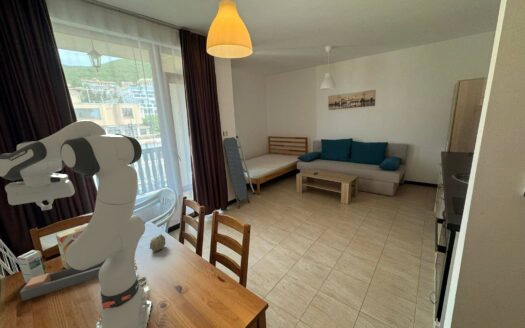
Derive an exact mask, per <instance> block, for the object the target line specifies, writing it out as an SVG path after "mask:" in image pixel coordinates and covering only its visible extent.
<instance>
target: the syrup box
mask: <svg viewBox="0 0 525 328" xmlns="http://www.w3.org/2000/svg"><path fill="white" fill-rule="evenodd" d="M17 260H18V264H19V267H20V270H21V273H22V277H23V279H24V282H25V284H26V283H27V282H28V281H29V279H31V278H33V277H36V276H40V275H43V274H47V273H48V272H47V270H46V267H45V262H44V259H43V256H42V252H41V251H40V250H37V249H36V250H35V249H32V250H30V251H28V252H26V253H23V254H21V255H19V256H17Z"/></svg>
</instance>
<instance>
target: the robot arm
mask: <svg viewBox="0 0 525 328" xmlns="http://www.w3.org/2000/svg"><path fill="white" fill-rule="evenodd" d="M142 151H143V149H142V145H141V144H140V142H139V141H138V140H137V138H135V137H133V136H130V135H129V136H128V135H125V134H120V133H115V134H108V133H106V130H105V129H104V127H103V126H102V125H101V124H100V123H98V122H96V121H94V120H89V119H81V120H78V121H75V122H73V123H70V124H69V125H66V126H64V127H63V128H61V129H59V130H58V131H57V132H55V133H53V134H51V135H48V136H47V137H44V138H42V139H39V140H37V141H33V140H32V141H24V142H20V143H19V144H17V145H16V150H15V151H12V152H6V153H1V154H0V177H1V178H3V179H5V180H8V181H12V182H8V184H6V185H5V186H4V190H5V192H6V194H7V201H8V204H9V205H11V206H16V205H23V204H24V205H25V204H30V203H35V204H36V205H37V206H38V207H40V209H41V211H43V212H44V211H47V210H52V209H53V205H52V204H53V203H54V200H57V199H61V198H68V197H72V196H74V194H75V193H76V190H75V187H74V184H73V182H72V181H71V180H70V179H69V174H66V173H64V174H63V173H58V172H60V171H62V170H63V169H64V168H65V167H66V168H68V169H70V171H73V172H74V173H77V174H81V175H83V176H84V177H85V178H92V177H94V176H96V178H97V179H98V186H97V192H96V198H95V199H96V200H95V204H94V211H93V214H92V216H91V218H90V220H89V222H88V225H87V226H86V228H85V229H84V231H83V232H82V233H81V234H80V236H79V237H78V238H77V239H76V240H75V241H73V242H72V243H71V244H70V245H69V246H68V248H67V250H66V254H65V258H66V261H67V263H68V265H69V266H70V267H72V268H74V269H76V270H85V269H88V268H90V267H93V266H95V265H97V264H100V263H101V262H103V261H105V260H106V261H105V262H104V264H103V265H102V266H101V268H100V270H99V274H98V277H97V278H98V281H99V285H100V303H99V304H98V305H99V306H98V307H99V309H100V318H99V319H98V321H97V322H96V324H95V328H146V326H147V322H148V323H149V321H148V318H149V319H150V317H149V315H150V316H151V312H150V310H151V311H152V308H151V306H153V302H152V300H148V299H147V297H146V291H145V288H144V287H142V286H140V284H139V282H140V281H139V279H138V276H137V275H136V274H137V273H136V269H135V255H136V251H137V248H138V245H139V242H140V240H141V239H142V236H143V235H144V233H145V231H146V225H145V221H144V220H143V219H142V218H141V217H140V216H138V215H136V214H134V211H135V206H136V200H137V194H138V189H139V188H138V187H139V185H138V184H139V183H138V181H139V179H138V172H137V170H136V169H135V168H134V167H132V166H130V165H132V164H135V163H137V162H138V161H139V160H140V159H141V157H142V155H143V154H142ZM17 180H22V181H17ZM13 181H14V182H13ZM15 181H16V182H15ZM43 201H47V202H48V204H44V203H43ZM147 306H149V307H147ZM144 322H145V323H144ZM147 327H148V326H147Z"/></svg>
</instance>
